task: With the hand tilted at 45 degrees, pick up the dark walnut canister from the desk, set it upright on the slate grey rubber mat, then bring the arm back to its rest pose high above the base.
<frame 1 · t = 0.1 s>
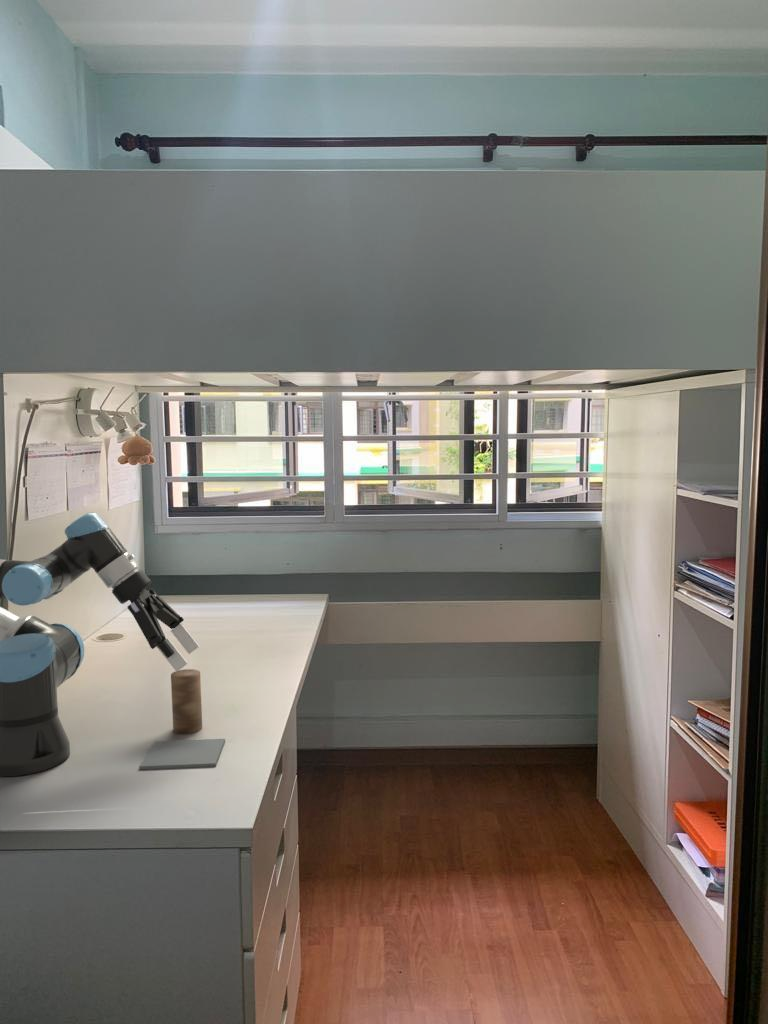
hand: (188, 658, 161), 15 cm above the table, tool tilted 35°, fingers open, 13 cm apart
slate mat: (184, 754, 148), on the table
walnut canister: (187, 728, 162), on the table
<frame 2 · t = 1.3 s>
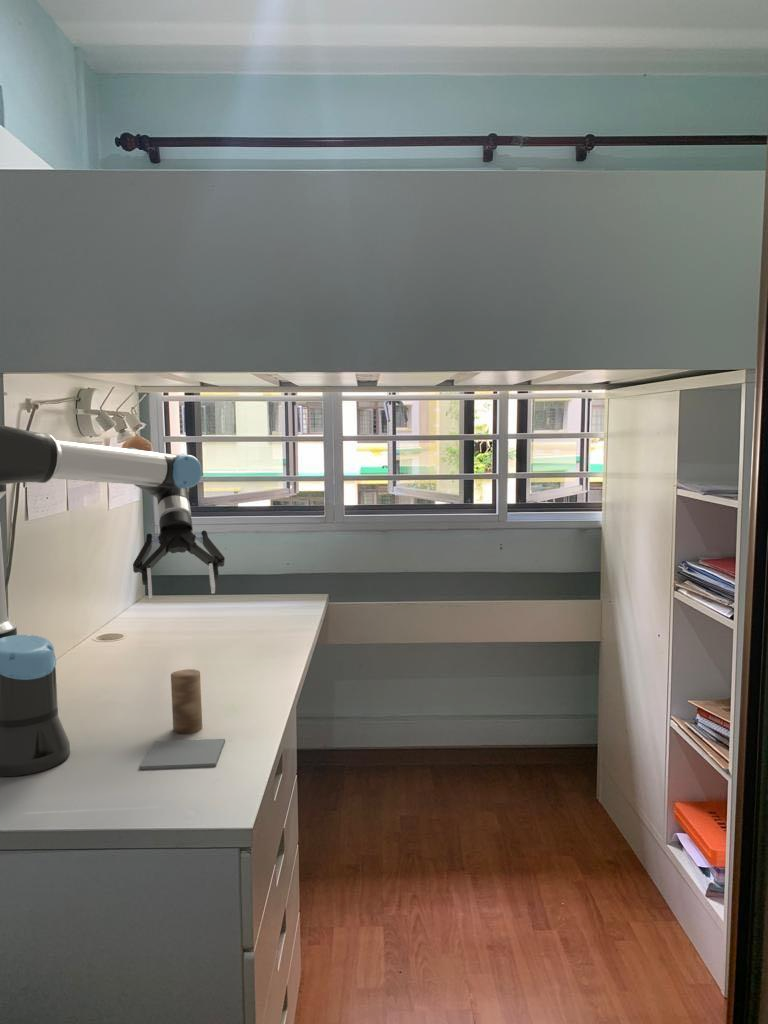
hand: (182, 592, 170), 27 cm above the table, tool tilted 45°, fingers open, 13 cm apart
nothing on the table moved.
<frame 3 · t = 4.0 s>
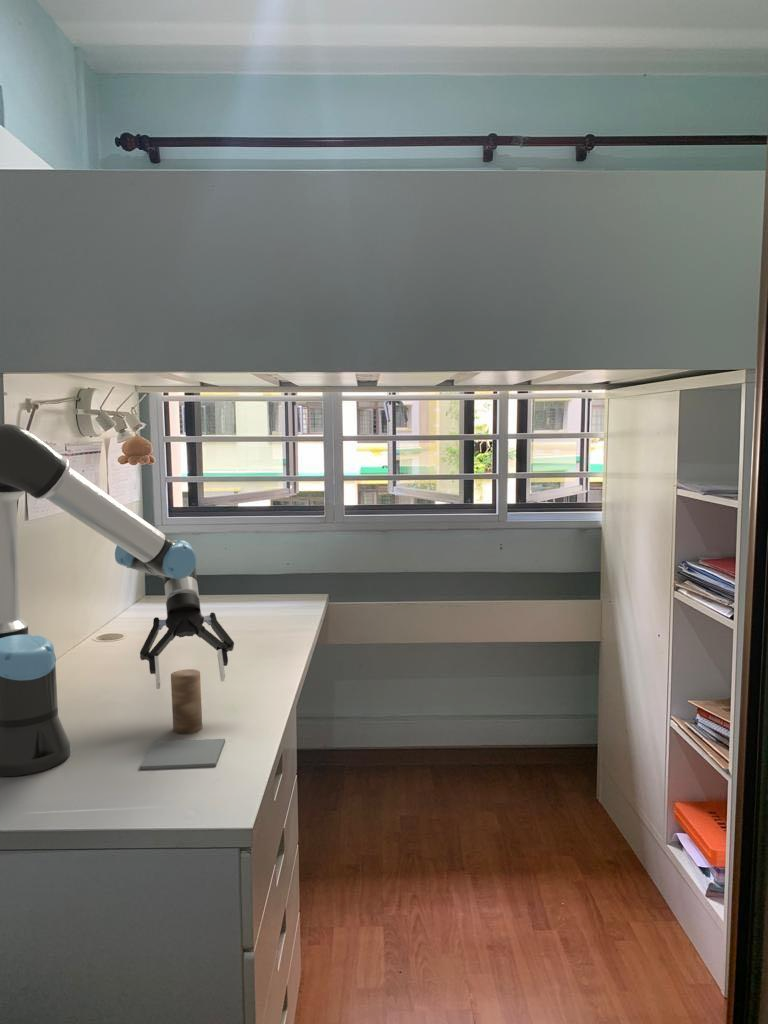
hand: (191, 682, 165), 9 cm above the table, tool tilted 45°, fingers open, 13 cm apart
nothing on the table moved.
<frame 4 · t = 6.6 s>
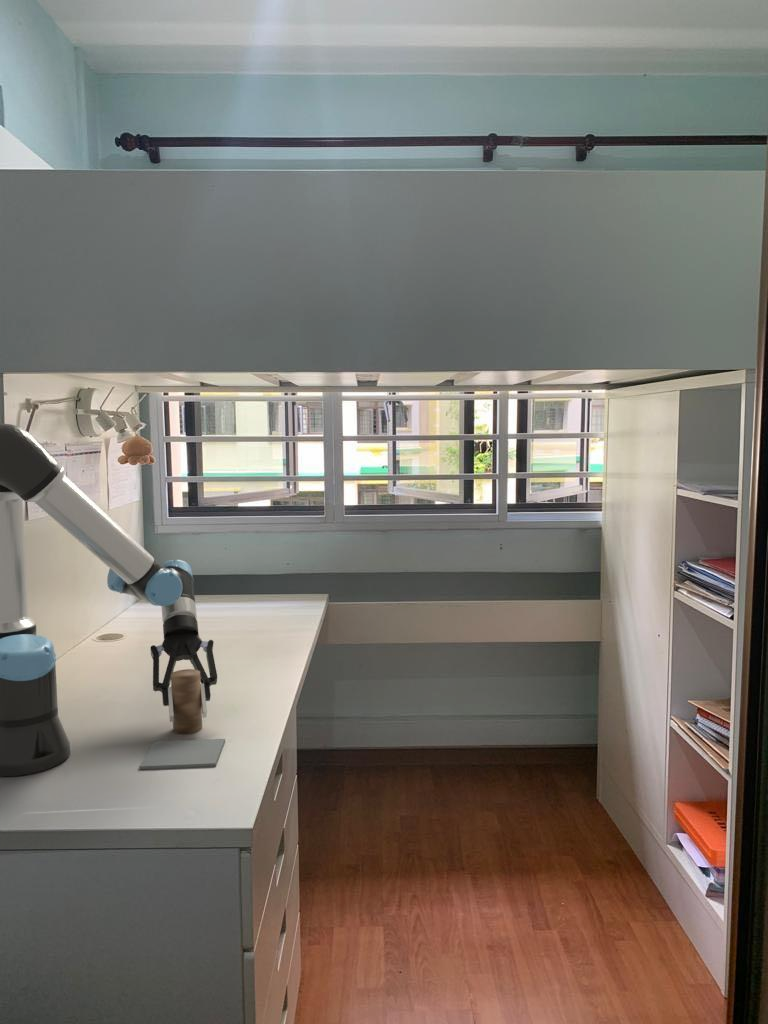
hand: (188, 716, 158), 4 cm above the table, tool tilted 45°, fingers closed on walnut canister, 6 cm apart
walnut canister: (187, 728, 162), on the table, touching gripper
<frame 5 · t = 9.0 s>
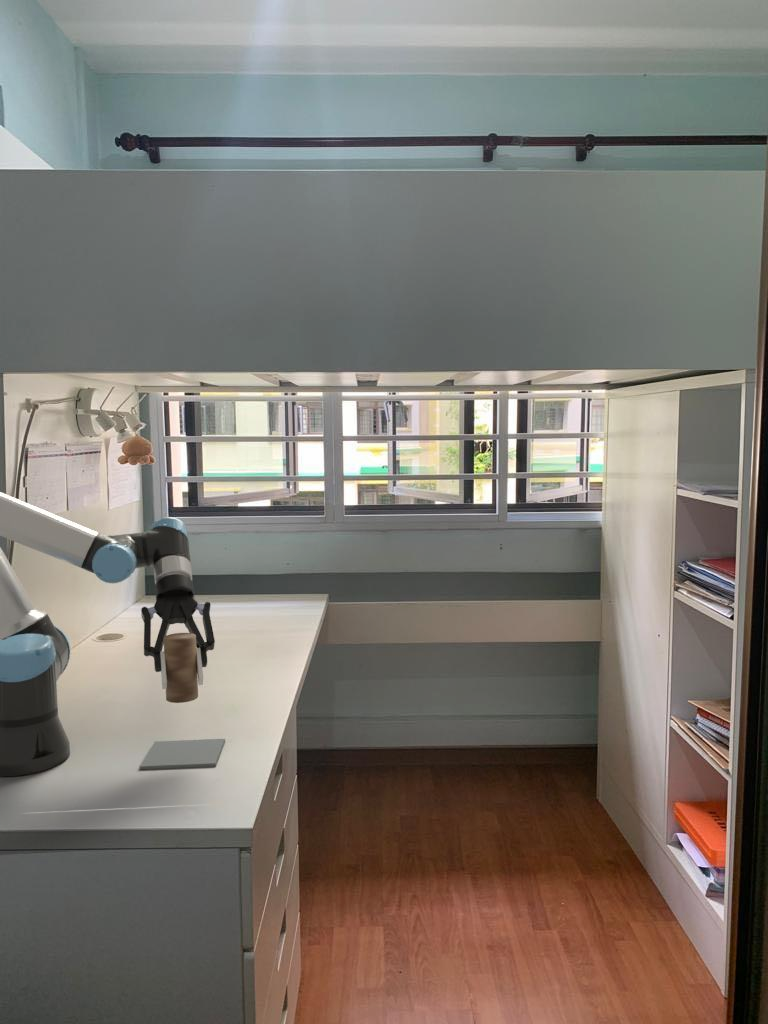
hand: (182, 683, 144), 15 cm above the table, tool tilted 45°, fingers closed on walnut canister, 6 cm apart
walnut canister: (182, 697, 147), point 11 cm above the table, touching gripper
when the fingers open (6 cm above the table, at t = 11.5 s): walnut canister drops 1 cm, resting on slate mat.
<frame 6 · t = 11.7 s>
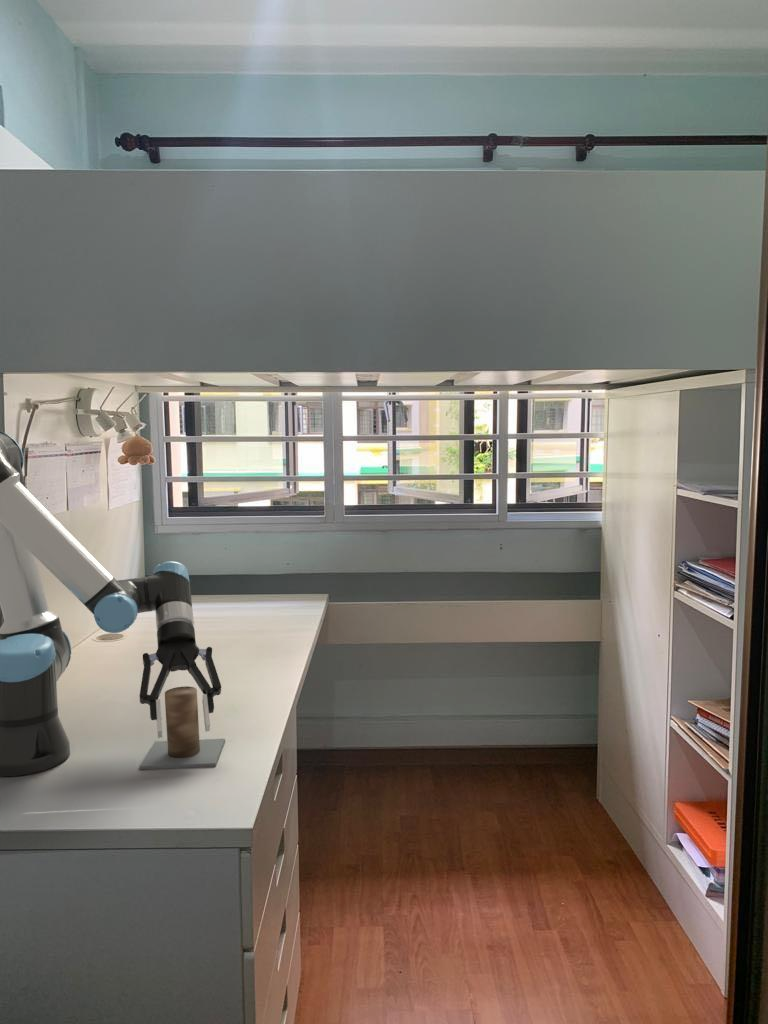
hand: (184, 731, 144), 6 cm above the table, tool tilted 45°, fingers open, 8 cm apart
walnut canister: (184, 751, 148), point 1 cm above the table, touching slate mat
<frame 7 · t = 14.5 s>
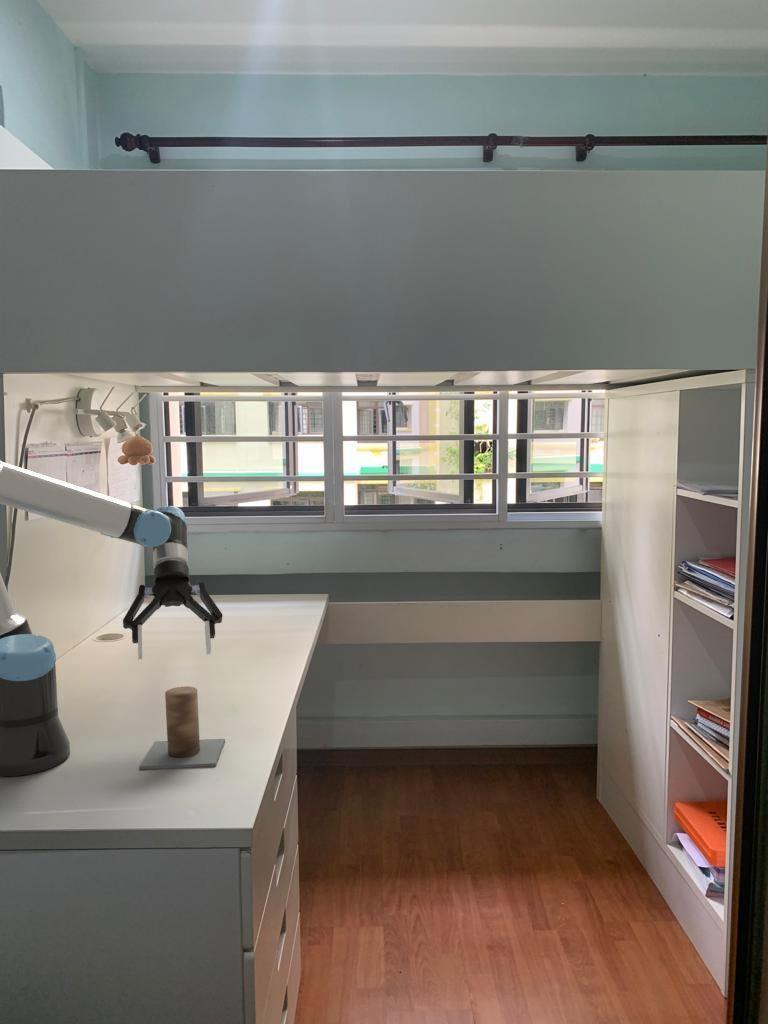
hand: (175, 653, 157), 17 cm above the table, tool tilted 45°, fingers open, 13 cm apart
nothing on the table moved.
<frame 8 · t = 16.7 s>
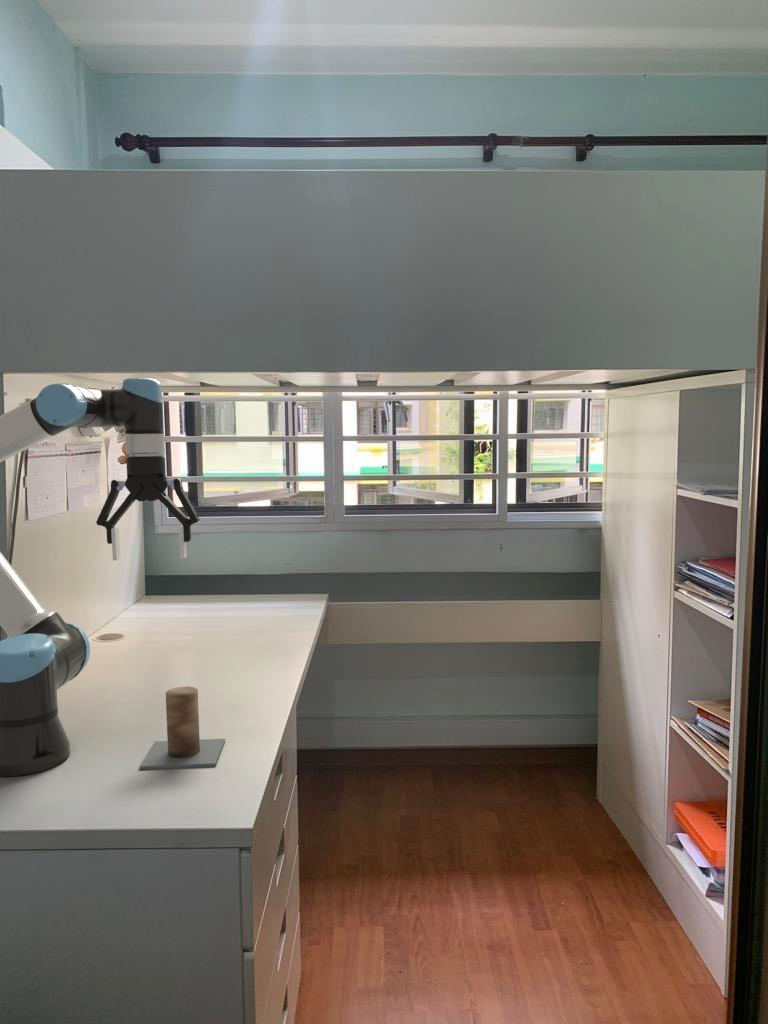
hand: (150, 558, 157), 37 cm above the table, tool pointing down, fingers open, 13 cm apart
nothing on the table moved.
at the end: walnut canister inside the target area on the slate mat (0.1 cm from its centre), point 0.6 cm above the slate mat's base; walnut canister tilted 0°; the gripper is holding nothing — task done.
